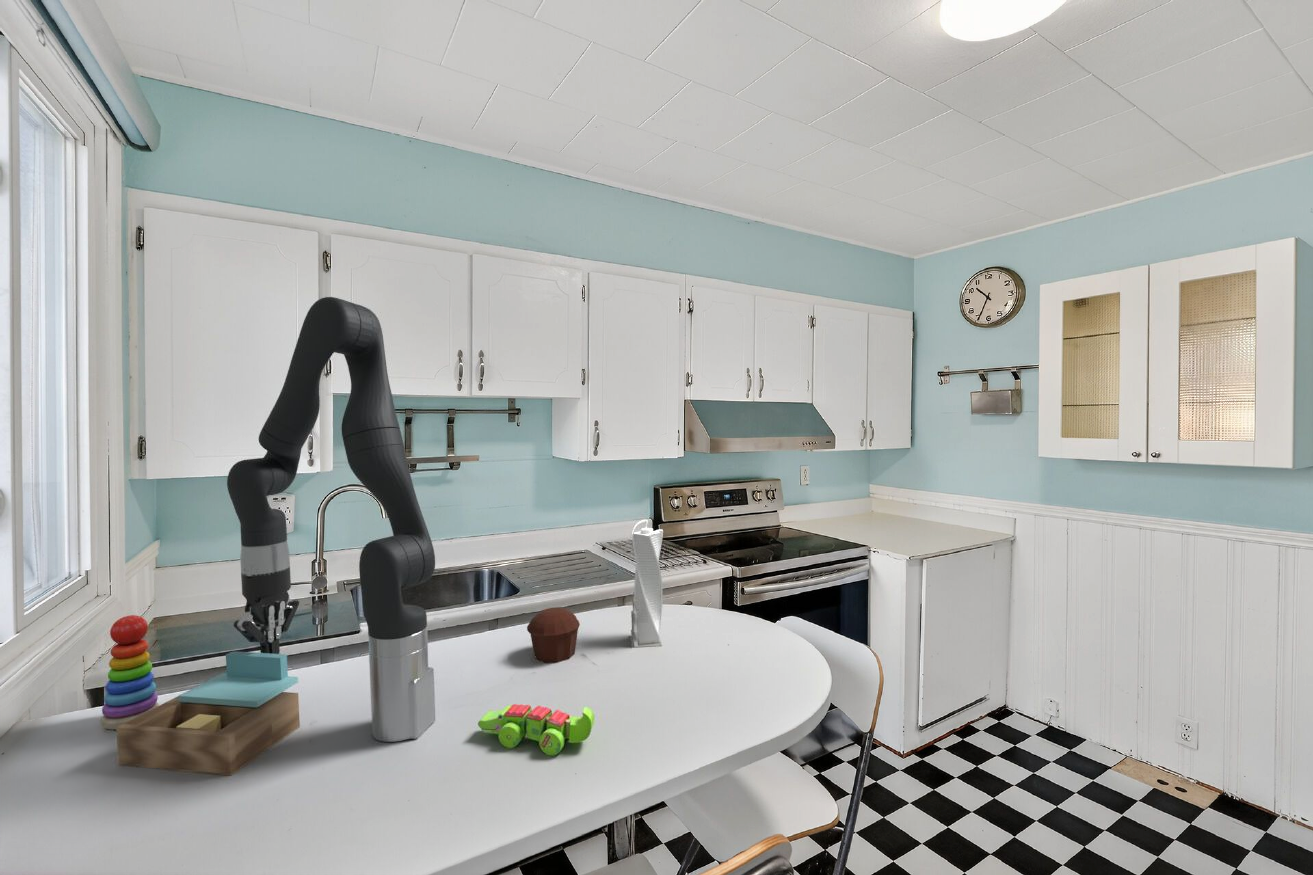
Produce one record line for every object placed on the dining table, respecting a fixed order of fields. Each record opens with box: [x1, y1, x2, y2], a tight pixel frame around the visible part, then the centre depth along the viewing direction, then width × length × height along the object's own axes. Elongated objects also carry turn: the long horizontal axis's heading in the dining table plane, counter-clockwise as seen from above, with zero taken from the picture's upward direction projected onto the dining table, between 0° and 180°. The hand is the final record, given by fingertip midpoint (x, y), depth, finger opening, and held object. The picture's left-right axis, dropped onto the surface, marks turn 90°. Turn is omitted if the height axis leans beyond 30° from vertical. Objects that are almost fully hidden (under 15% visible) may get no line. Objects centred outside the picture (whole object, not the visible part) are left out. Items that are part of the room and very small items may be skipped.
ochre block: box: [176, 714, 221, 732], centre depth 97 cm, size 4×4×5 cm
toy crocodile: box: [477, 703, 595, 756], centre depth 100 cm, size 20×7×6 cm, turn 73°
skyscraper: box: [629, 519, 664, 649], centre depth 141 cm, size 8×8×28 cm
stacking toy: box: [100, 614, 160, 730], centre depth 108 cm, size 8×8×19 cm
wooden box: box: [115, 691, 301, 777], centre depth 100 cm, size 20×14×6 cm
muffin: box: [526, 606, 581, 664], centre depth 134 cm, size 12×11×10 cm
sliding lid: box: [177, 650, 299, 707], centre depth 105 cm, size 15×9×5 cm, turn 81°
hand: (270, 660), depth 111 cm, fingers closed
